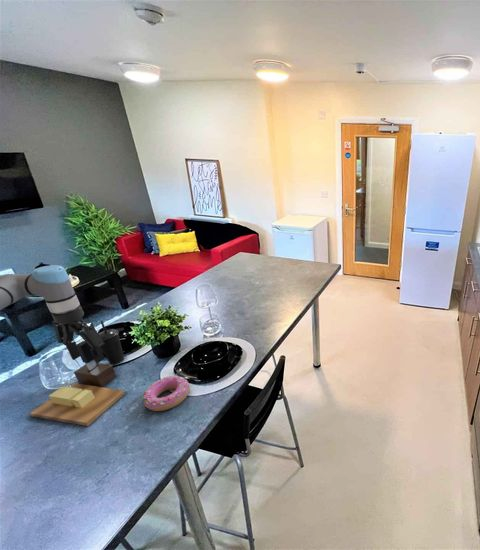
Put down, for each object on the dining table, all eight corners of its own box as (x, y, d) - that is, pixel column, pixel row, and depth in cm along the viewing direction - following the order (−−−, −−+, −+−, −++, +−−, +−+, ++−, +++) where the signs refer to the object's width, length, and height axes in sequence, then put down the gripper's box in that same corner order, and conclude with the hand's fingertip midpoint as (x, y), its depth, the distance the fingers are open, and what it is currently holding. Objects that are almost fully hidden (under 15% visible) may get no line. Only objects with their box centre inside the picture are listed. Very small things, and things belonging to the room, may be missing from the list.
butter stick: (52, 403, 102) (48, 395, 100) (66, 393, 106) (62, 385, 104) (72, 406, 101) (68, 399, 99) (85, 396, 105) (82, 389, 104)
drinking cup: (128, 352, 129) (114, 314, 121) (127, 362, 124) (113, 323, 115) (106, 358, 125) (90, 319, 117) (104, 369, 120) (87, 329, 111)
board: (31, 416, 98) (29, 413, 98) (74, 385, 111) (72, 382, 111) (87, 426, 96) (86, 422, 95) (125, 393, 109) (124, 390, 108)
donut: (170, 379, 116) (167, 370, 114) (199, 388, 112) (196, 378, 110) (135, 407, 103) (130, 397, 101) (166, 418, 100) (163, 408, 98)
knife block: (79, 384, 112) (73, 372, 109) (94, 373, 117) (89, 361, 115) (102, 387, 111) (96, 375, 108) (116, 376, 116) (111, 364, 114)
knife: (92, 382, 113) (74, 345, 105) (99, 377, 116) (83, 340, 108) (97, 383, 113) (80, 346, 105) (104, 377, 115) (88, 341, 108)
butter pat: (75, 407, 101) (71, 399, 99) (88, 396, 105) (85, 389, 103) (81, 408, 101) (78, 400, 99) (94, 397, 105) (91, 390, 103)
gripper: (104, 306, 103) (123, 356, 112) (50, 300, 105) (73, 349, 114) (82, 317, 96) (105, 369, 105) (25, 310, 98) (52, 362, 108)
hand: (88, 359), depth 110 cm, fingers open, 9 cm apart
